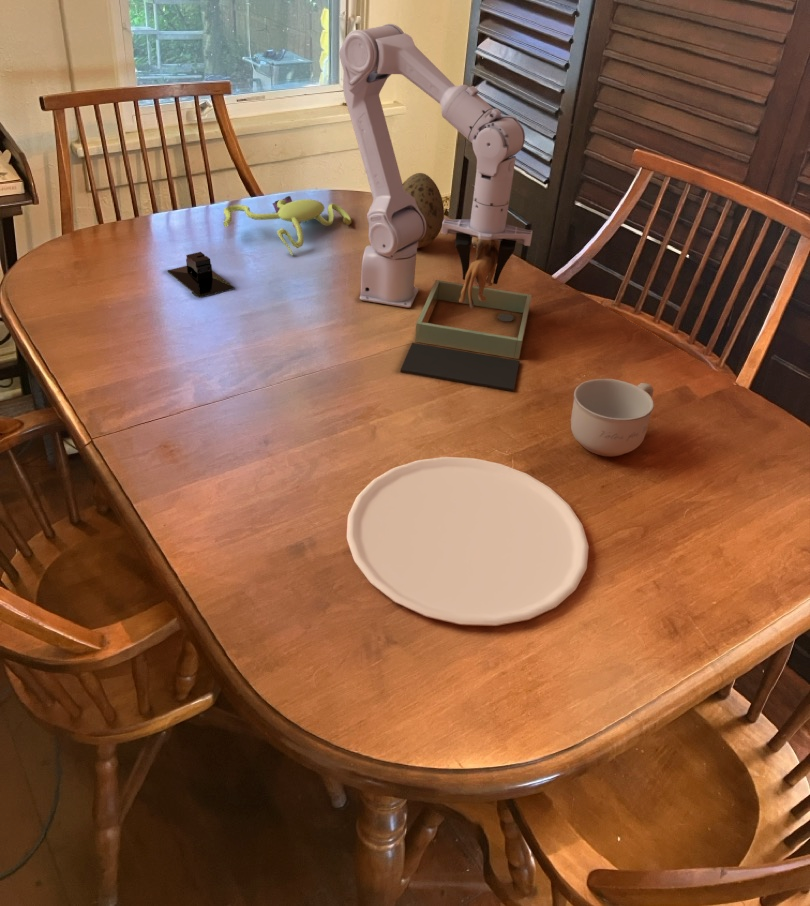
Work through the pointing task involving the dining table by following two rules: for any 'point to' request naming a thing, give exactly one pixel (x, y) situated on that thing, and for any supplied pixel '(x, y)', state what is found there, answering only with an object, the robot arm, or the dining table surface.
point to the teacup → (611, 415)
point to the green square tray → (471, 338)
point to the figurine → (292, 215)
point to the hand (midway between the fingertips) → (480, 279)
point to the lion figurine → (481, 268)
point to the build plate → (200, 276)
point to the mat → (461, 366)
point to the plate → (467, 541)
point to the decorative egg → (426, 204)
